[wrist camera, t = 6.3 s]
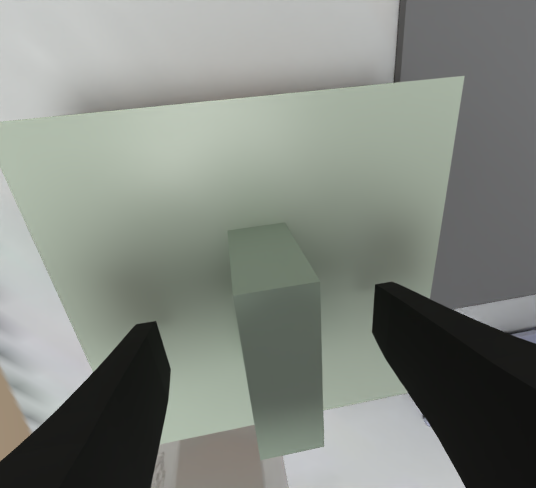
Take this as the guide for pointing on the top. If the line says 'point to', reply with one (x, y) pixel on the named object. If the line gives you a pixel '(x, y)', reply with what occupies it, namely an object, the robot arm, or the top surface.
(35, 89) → the top surface
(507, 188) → the mat
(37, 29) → the top surface
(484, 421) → the robot arm
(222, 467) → the jar
